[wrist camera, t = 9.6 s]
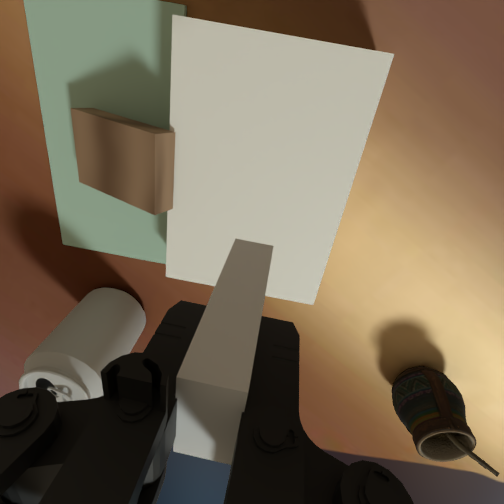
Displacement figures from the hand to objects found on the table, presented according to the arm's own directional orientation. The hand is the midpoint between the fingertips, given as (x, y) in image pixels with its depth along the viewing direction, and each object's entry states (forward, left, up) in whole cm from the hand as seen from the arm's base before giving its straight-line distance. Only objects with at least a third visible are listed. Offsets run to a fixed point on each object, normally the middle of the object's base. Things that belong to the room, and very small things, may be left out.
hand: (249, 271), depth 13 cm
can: (+15, +20, -17) cm, 30 cm away
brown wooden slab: (+11, +1, -15) cm, 19 cm away
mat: (+14, +1, -17) cm, 22 cm away
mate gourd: (-22, +22, -17) cm, 36 cm away
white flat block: (+1, +1, -17) cm, 17 cm away
